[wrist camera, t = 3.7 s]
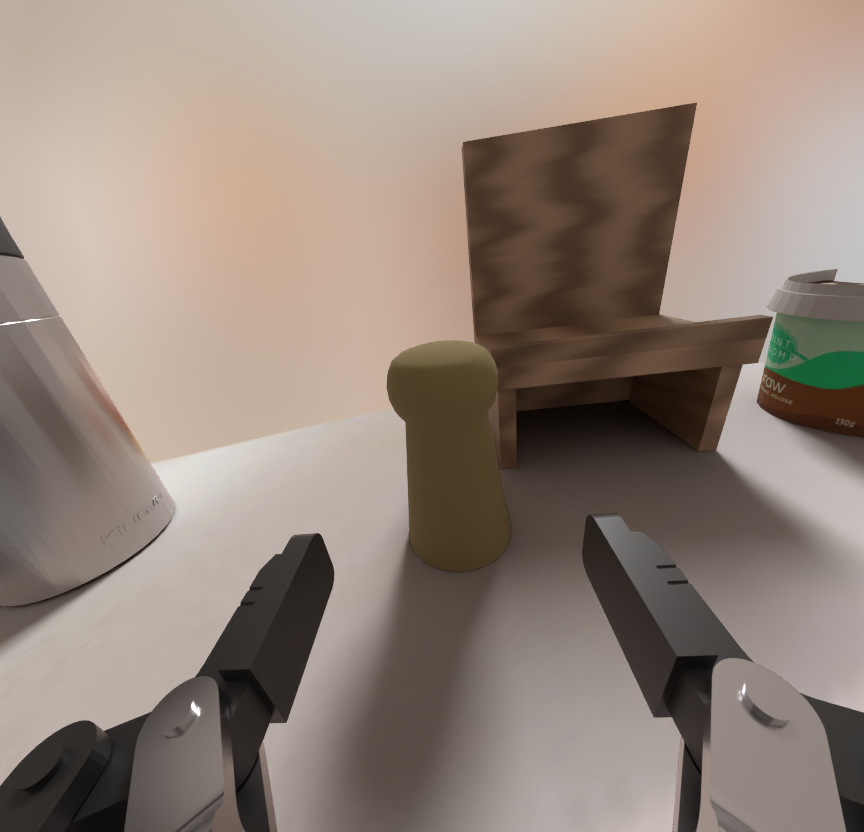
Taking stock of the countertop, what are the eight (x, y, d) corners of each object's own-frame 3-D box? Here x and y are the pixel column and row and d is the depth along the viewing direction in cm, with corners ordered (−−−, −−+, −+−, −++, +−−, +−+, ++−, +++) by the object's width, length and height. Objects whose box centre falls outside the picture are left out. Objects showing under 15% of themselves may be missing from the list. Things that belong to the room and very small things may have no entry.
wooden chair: (496, 473, 23) (477, 59, 14) (479, 408, 33) (461, 149, 24) (727, 453, 22) (883, -17, 12) (634, 392, 32) (680, 112, 23)
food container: (709, 384, 32) (738, 277, 27) (787, 382, 30) (831, 268, 26) (804, 450, 21) (875, 292, 17) (932, 453, 19) (1047, 278, 15)
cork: (445, 594, 15) (411, 377, 10) (392, 522, 20) (352, 351, 15) (534, 533, 18) (537, 338, 13) (467, 482, 22) (453, 326, 18)
